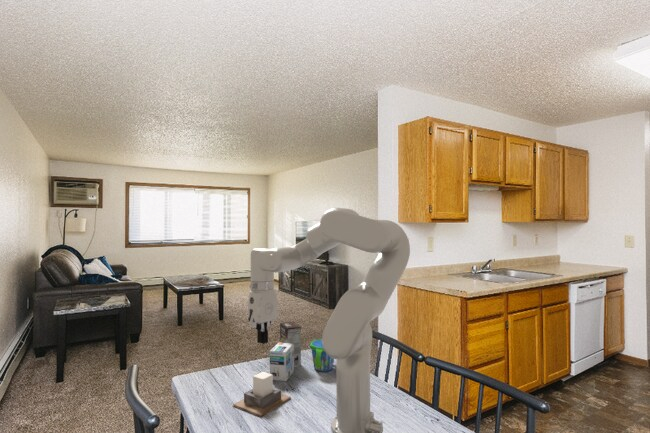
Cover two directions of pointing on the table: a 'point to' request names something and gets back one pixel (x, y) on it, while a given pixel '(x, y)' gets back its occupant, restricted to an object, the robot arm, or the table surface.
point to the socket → (261, 402)
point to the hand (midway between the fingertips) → (262, 342)
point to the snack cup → (320, 357)
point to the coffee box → (292, 338)
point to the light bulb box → (282, 361)
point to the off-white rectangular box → (262, 384)
